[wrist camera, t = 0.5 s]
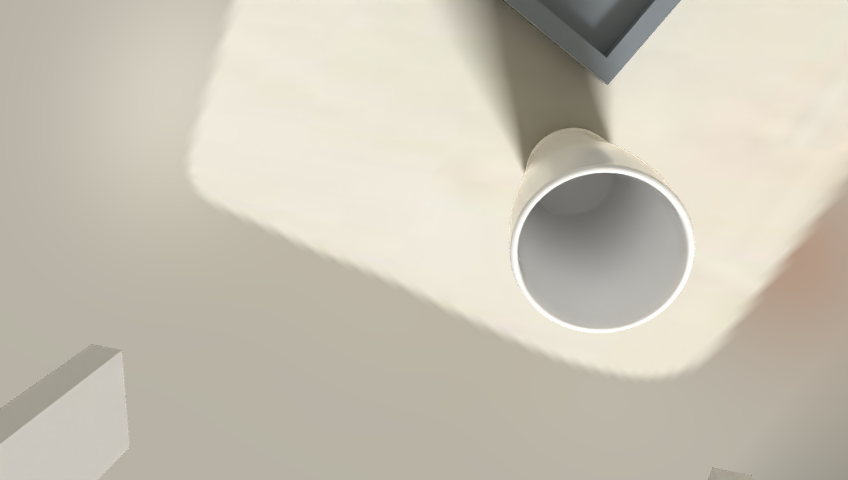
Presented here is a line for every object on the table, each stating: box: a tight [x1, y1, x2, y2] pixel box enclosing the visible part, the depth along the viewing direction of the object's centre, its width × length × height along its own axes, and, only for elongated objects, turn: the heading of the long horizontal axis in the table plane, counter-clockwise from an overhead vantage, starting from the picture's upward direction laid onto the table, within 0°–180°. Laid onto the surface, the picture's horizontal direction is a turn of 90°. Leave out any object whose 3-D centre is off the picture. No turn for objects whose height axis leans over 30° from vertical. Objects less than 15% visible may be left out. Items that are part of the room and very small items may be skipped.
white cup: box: [509, 128, 695, 333], centre depth 28 cm, size 7×7×15 cm
